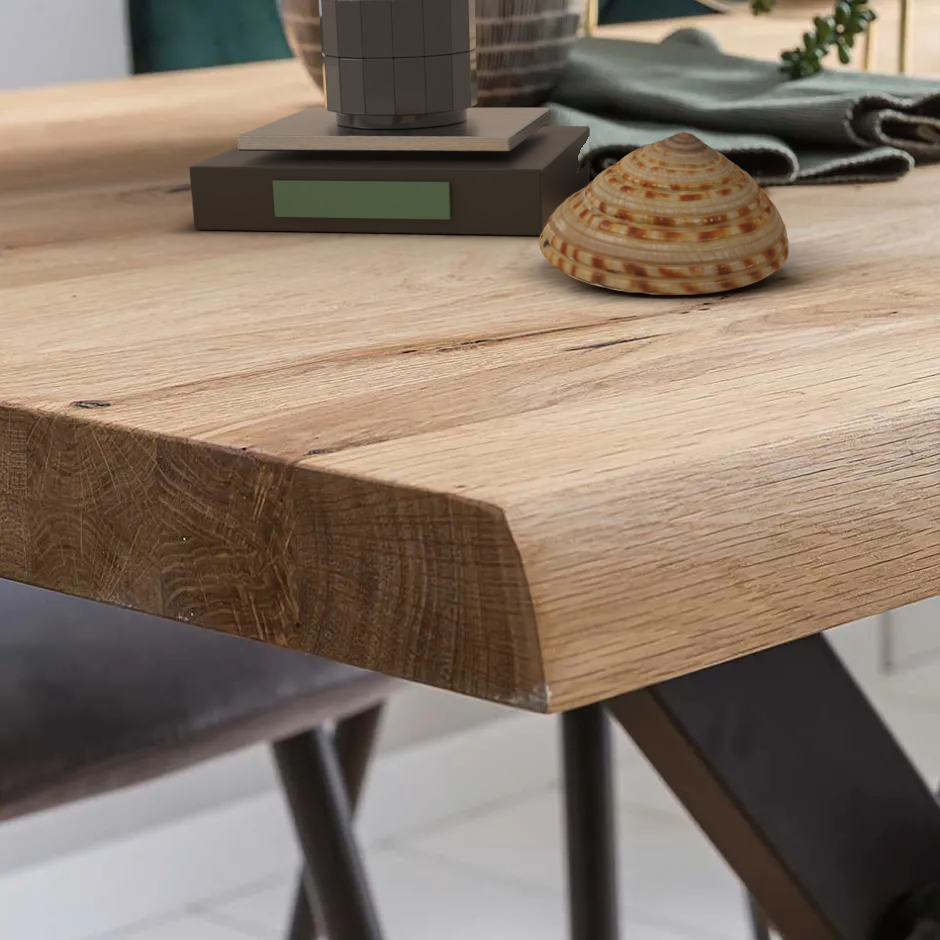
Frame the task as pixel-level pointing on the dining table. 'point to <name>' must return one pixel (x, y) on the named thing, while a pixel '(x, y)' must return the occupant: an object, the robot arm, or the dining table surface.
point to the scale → (392, 188)
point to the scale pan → (398, 133)
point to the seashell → (668, 224)
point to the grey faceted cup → (398, 62)
